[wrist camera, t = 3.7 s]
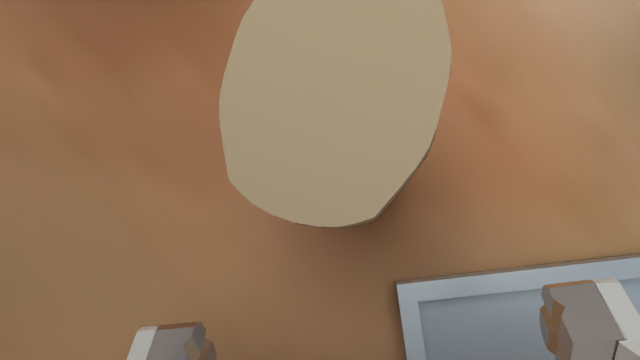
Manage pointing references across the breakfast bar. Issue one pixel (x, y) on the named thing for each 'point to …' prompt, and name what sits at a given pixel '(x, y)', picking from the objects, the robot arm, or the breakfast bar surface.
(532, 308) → the tray
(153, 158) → the breakfast bar surface
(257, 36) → the handle
